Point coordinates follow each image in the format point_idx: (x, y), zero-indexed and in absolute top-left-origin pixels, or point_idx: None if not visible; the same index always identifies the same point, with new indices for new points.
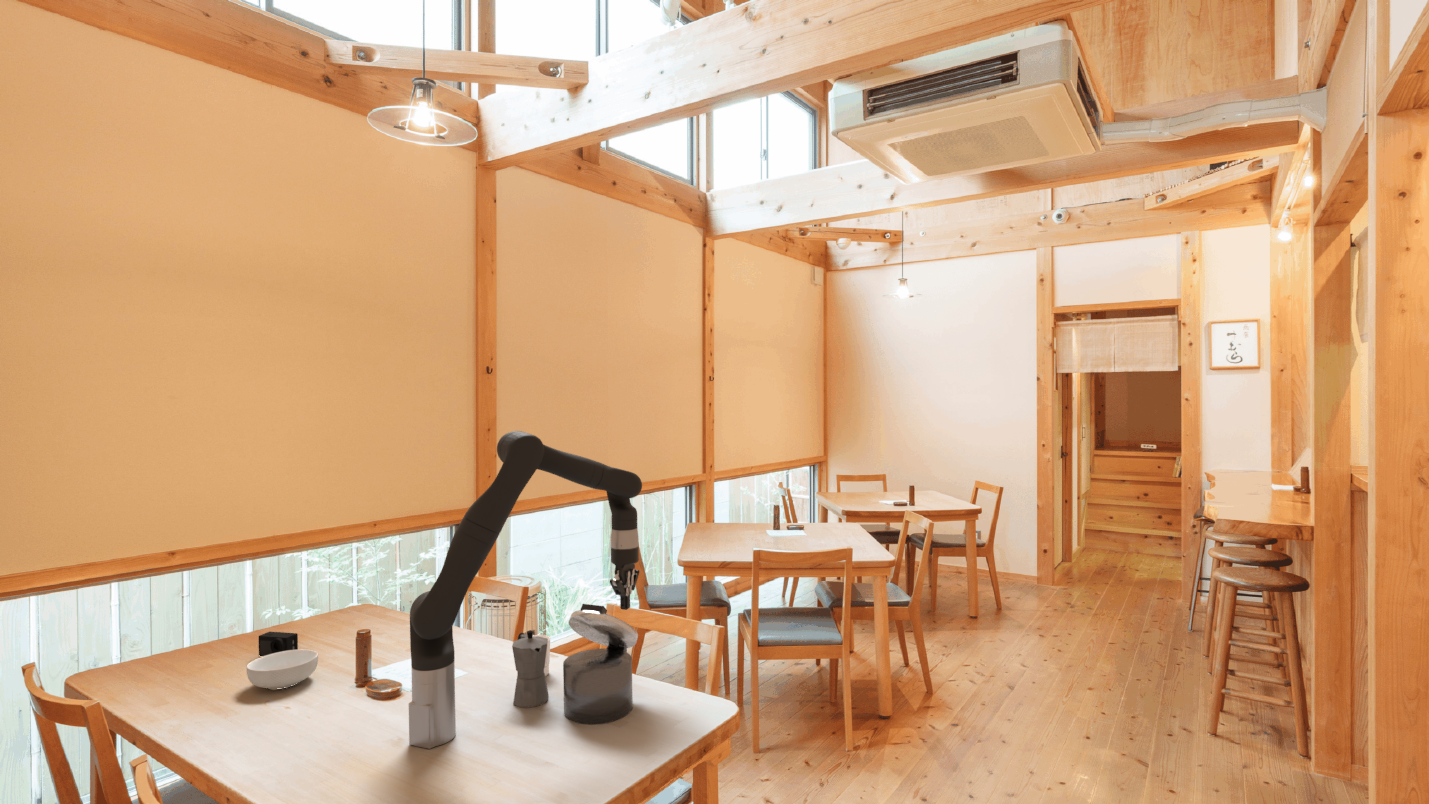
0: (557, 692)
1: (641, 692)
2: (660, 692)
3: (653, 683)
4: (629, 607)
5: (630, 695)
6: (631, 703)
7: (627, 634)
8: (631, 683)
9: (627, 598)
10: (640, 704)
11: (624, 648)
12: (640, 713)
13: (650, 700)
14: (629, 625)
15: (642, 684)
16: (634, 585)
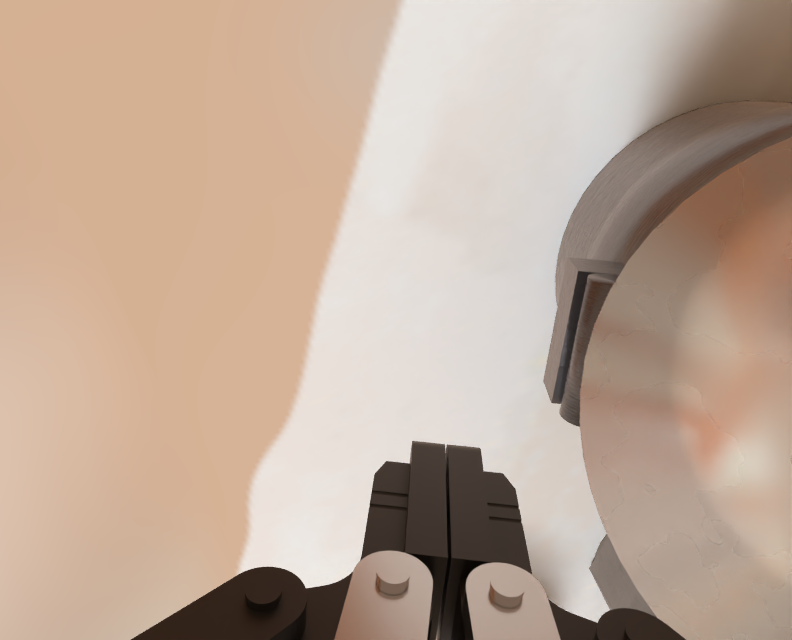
0: (573, 503)
1: (505, 135)
2: (485, 26)
3: (381, 114)
4: (427, 443)
5: (779, 104)
6: (737, 104)
7: None
8: (786, 109)
9: (489, 538)
10: (652, 81)
11: (617, 276)
12: (762, 36)
13: (596, 44)
14: None
15: (407, 169)
16: (214, 630)
